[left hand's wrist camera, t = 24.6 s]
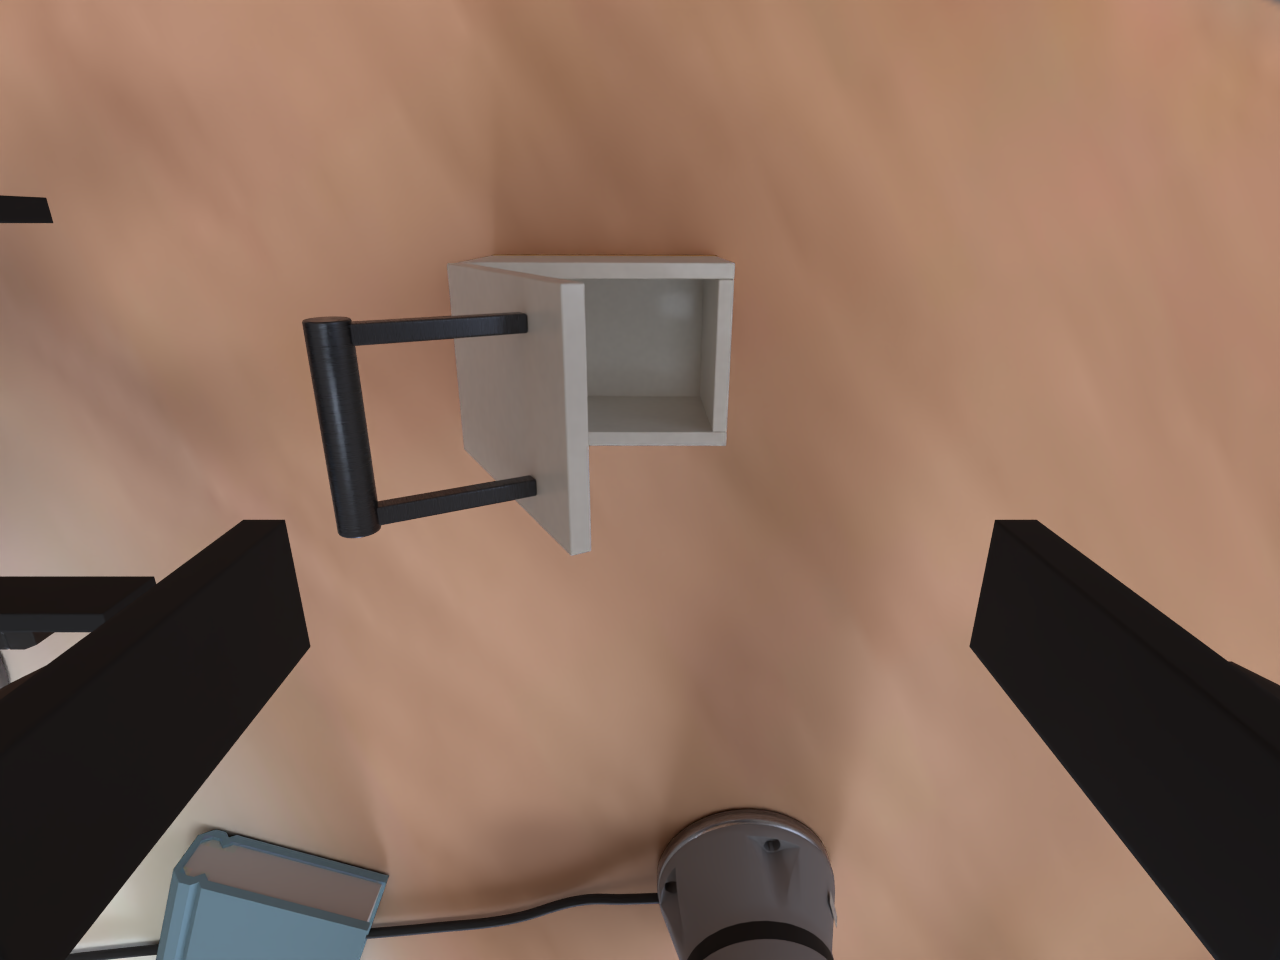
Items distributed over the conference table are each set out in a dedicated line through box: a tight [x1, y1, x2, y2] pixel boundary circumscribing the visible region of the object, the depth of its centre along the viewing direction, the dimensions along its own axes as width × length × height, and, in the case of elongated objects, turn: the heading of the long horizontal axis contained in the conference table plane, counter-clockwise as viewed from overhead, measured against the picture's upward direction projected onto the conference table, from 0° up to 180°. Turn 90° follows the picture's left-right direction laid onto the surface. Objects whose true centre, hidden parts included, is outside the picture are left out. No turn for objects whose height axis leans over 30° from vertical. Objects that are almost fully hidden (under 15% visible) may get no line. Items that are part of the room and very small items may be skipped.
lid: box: [302, 263, 591, 555], centre depth 27 cm, size 14×10×8 cm
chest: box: [458, 255, 735, 446], centre depth 39 cm, size 14×10×9 cm
